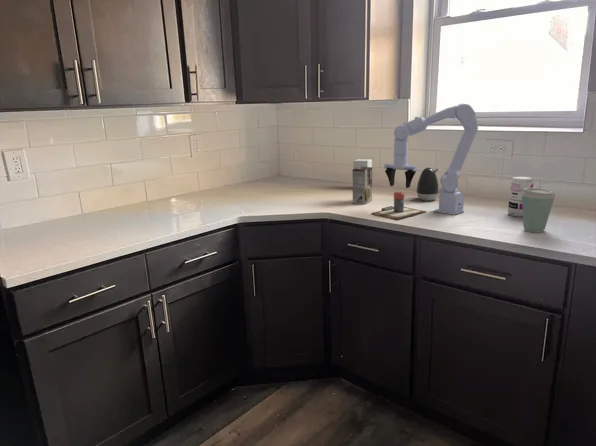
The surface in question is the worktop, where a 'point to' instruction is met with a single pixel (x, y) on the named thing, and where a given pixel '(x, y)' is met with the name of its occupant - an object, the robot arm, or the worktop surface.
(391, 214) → the clipboard
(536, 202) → the disposable coffee cup
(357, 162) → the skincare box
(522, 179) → the supplement can
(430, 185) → the pump dispenser
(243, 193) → the worktop surface
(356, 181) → the coffee box
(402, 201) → the marker
